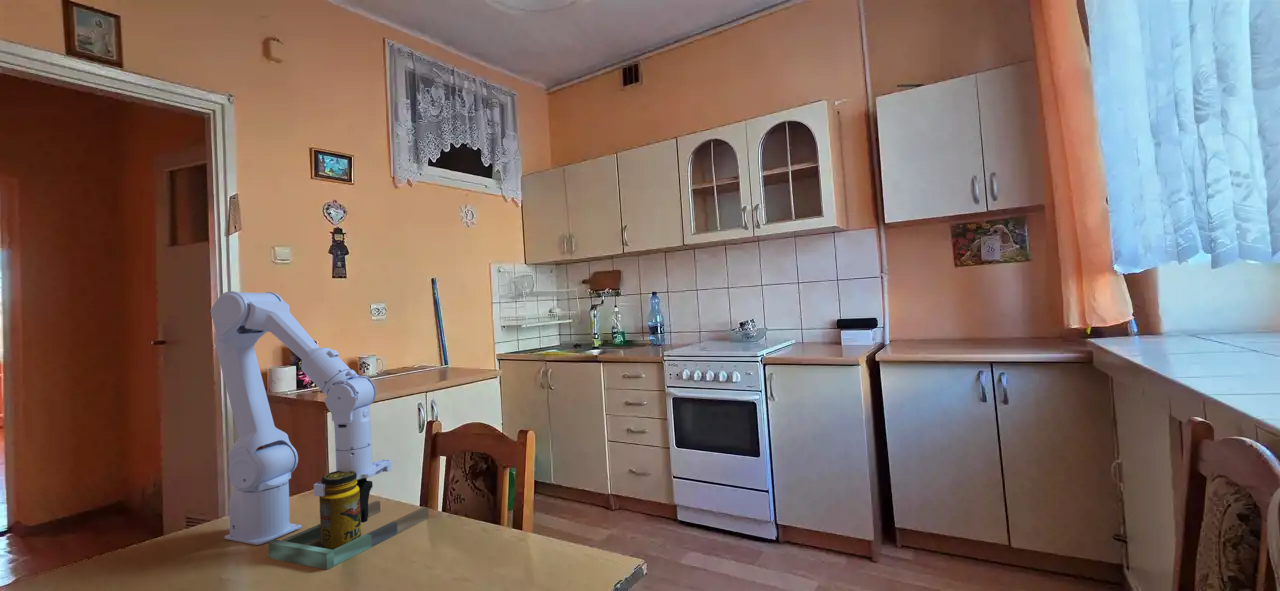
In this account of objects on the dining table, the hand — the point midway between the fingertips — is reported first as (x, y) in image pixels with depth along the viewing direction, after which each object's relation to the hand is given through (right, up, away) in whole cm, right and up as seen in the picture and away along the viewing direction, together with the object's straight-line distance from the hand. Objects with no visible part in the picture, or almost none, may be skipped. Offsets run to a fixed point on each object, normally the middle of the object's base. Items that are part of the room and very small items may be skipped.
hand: (357, 523), depth 98 cm
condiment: (-1, -2, -4) cm, 5 cm away
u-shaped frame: (0, -2, 0) cm, 2 cm away
